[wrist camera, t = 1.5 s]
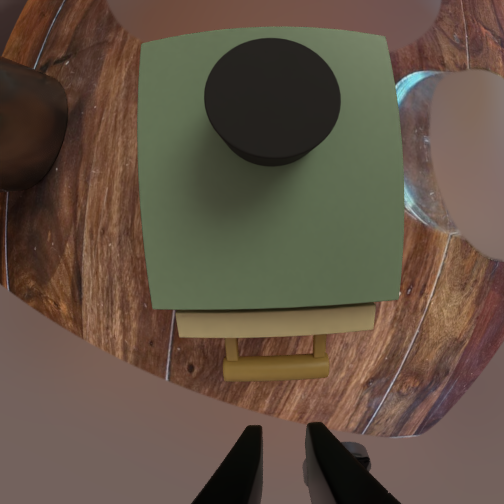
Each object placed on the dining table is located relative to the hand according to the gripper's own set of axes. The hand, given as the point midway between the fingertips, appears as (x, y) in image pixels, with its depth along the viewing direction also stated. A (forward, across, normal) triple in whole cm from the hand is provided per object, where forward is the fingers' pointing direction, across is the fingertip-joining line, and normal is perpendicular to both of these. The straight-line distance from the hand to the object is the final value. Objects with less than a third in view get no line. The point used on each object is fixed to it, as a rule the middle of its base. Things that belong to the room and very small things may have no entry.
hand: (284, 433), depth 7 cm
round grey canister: (+12, +20, -14) cm, 27 cm away
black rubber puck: (+4, 0, -9) cm, 10 cm away
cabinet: (+12, 0, -8) cm, 14 cm away
